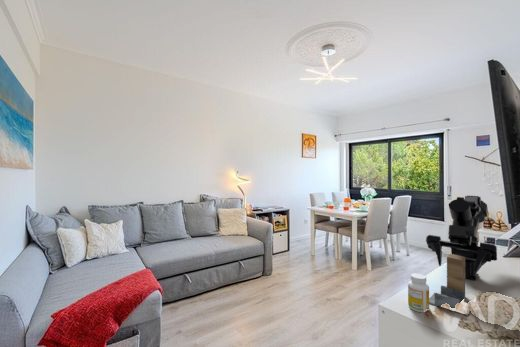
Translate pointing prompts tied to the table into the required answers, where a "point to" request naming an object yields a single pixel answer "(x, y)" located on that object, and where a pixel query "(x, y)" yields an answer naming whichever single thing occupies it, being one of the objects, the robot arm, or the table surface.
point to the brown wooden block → (456, 272)
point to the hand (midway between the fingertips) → (456, 269)
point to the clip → (447, 297)
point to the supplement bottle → (418, 293)
